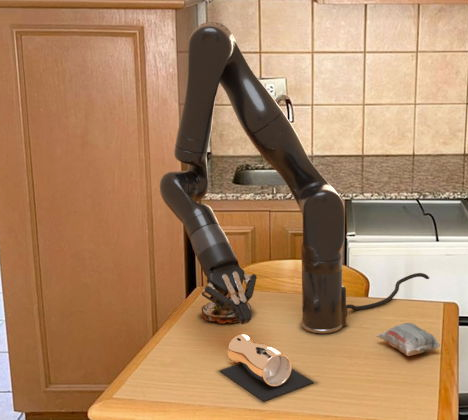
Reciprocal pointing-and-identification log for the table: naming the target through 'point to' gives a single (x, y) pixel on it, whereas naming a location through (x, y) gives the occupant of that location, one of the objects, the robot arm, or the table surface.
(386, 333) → the packaged food
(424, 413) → the table surface
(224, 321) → the floral plate with food
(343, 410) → the table surface
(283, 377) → the copper cup
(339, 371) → the table surface
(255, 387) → the mat
